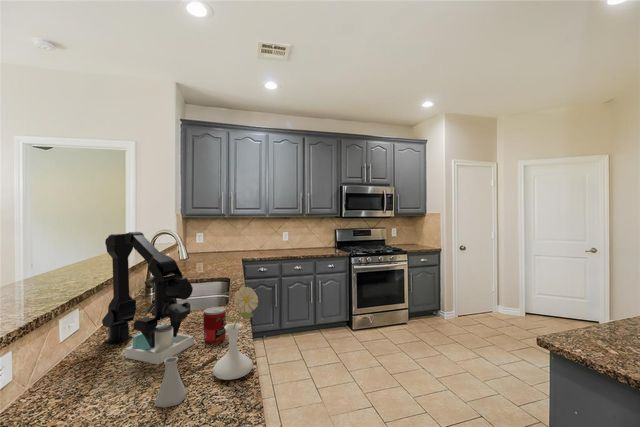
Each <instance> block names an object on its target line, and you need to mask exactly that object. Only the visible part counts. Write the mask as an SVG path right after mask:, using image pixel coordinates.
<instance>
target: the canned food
mask: <svg viewBox="0 0 640 427" xmlns="http://www.w3.org/2000/svg"><path fill="white" fill-rule="evenodd" d="M226 316H227V315H226V308H225V307H222V306H212V307H208V308H205V309H204V310H203V341H204V342H205V343H208V344H216V343H219V342H223V341H224V340H225V339H226V333H227V331H226V329H225V328H224V326H226V325H227V324H226V321H227V320H226Z"/></svg>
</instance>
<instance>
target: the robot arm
mask: <svg viewBox="0 0 640 427" xmlns="http://www.w3.org/2000/svg"><path fill="white" fill-rule="evenodd" d="M104 242H105V247H106V252H107V253H108V255H109V256H110V257H111V258H112V260H111V262H112V285H113V286H112V291H113V292H112V293H113V294H112V295H113V298H112V299H111V300H110V302H109V303H108V308H107V313H106V314H105V315H104V317H103V318H102V320H101V323H102V327H104V328H107V329H108V332H107V333H108V334H107V335H108V338H107V339H105V340H103V341H104V343H109V344H114V345H118V344H120V343H122V342H125V341H128V340H129V339H131V338H132V339H133V335H130V333H129V332H130V330H129V329H130V327H129V326H130V325H129V322H132V321H134V322H133V324H132V326H133V328H132V329H133V330H135V331H138V332H140V333H142V334H143V335H144V337H145V338H146V340H147V342H148V344H149V345H150V347H151V348H154V345H155V332H156V330H157V329H158V328H156V327H157V326H158V323H159V322H162V321H164V320H167V319H169V321H170V325H172V326H173V337H176V336H177V334H179V330H180V328H181V324H182V323H183V321H184V320H185V319H186V318H187V317H188V315H190V314H191V303H190V302H189V301H185V302H184V303H178V300H187V299H189V298H190V297H191V296H192V294H193V288H194V287H193V285H192V284H191V282H189V280H188V279H189V278H187V277H184V276H183V272H182V271H181V269H180V268H179V266H178V263H177V261H176V260H175V259H174V258H172V257H171V256H170V255H167V254H164V253H161V252H160V251H159V249H157V248H156V247H155V246H154V245H153V244H152V243H151V242H150V241H149V239H147V238H146V237H145V234H144V233H143V232H142V231H131V232H128V233H127V232H126V233H115V234H112V233H111V234H109V235H108V237H107V238H106V239H105V241H104ZM133 250H135V251H136V252H137V253H138V254H139V255H140V256H141V257H142V258H143V259H144V260H145V262H147V270H148V271H149V273H150V274H151V275H152V277H153V278H152V279H151V280H150V282H149V283H151V284H154V299H152V300H151V304H153V305H154V311H153V312H151V316H153V317H147V316H144V317H142V318H138V319H136V320H134V319H135V315H136V312H137V301H136V298H135V299H133V298H132V297H131V295H130V273H129V272H130V271H129V270H130V269H129V267H130V266H129V256H130V255H131V254H132V252H133Z"/></svg>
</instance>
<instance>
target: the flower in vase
mask: <svg viewBox="0 0 640 427" xmlns="http://www.w3.org/2000/svg"><path fill="white" fill-rule="evenodd" d="M234 293H235V294H234V298H233V300H234V301H233V302H234V303H233V305H234V306H235V307H236V308H237V309H238V311H239V315H238V316H237V318H234V317H228V316H227V315H226V319H227V320H230V321H235V322H232V323H228V324H226V326H224V328H225V329H226V333H227V337H228V344H229V345H228V346H229V347H228V351H227V353H225V355H224V356H222V357H221V358H220V359H219V360H218V361H217V362H216V363H215V364H214V365H213V369H212V374H213V375H214V377H216V378H218V379H219V380H226V381H227V380H228V381H229V380H236V379H240V378H242V377H245V376H247V375H248V374H249V373H250V372H252V370H253V367H254V363H253V361H252V359H251V358H249V356H247V355H246V354H244V353H242V352H240V351H239V349H238V348H239V347H238V336H239V332H240V330H241V328H242V326H243V325H242V323H240V322H239V323H238V321H239V319H240V317H241V318H243V319H244V320H249V319H251V318H252V317H254V313H253V311H254V310H256V308H257V307H259V306H258V303H259V300H258V298H259V297H258V295H257V294H256V291H254V290H253V288H252V287H249V286H246V287H245V286H241V287H239V289H238V290H236V291H235V292H234Z"/></svg>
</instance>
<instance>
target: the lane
mask: <svg viewBox="0 0 640 427" xmlns="http://www.w3.org/2000/svg"><path fill="white" fill-rule="evenodd" d="M192 346H194V335H188V334H182V333H177V336H176V337H173V346H171V347H169V348H167V349H165V350H163V351H161V352H159V353H156V352H155V346H154V348H149V349H147V350H140V349H135V348H133V344H132V345H130V346H128V347H126V348H125V359H131V360H134V361H140V362H144V363H149V364H153V365H159V364H161V363H162V364H163V363H164V360H165V359H167V358H169V357H175V356H176V355H178V354H180V353H181V352H183V351H185V350H187V349H188V348H191V347H192Z"/></svg>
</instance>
